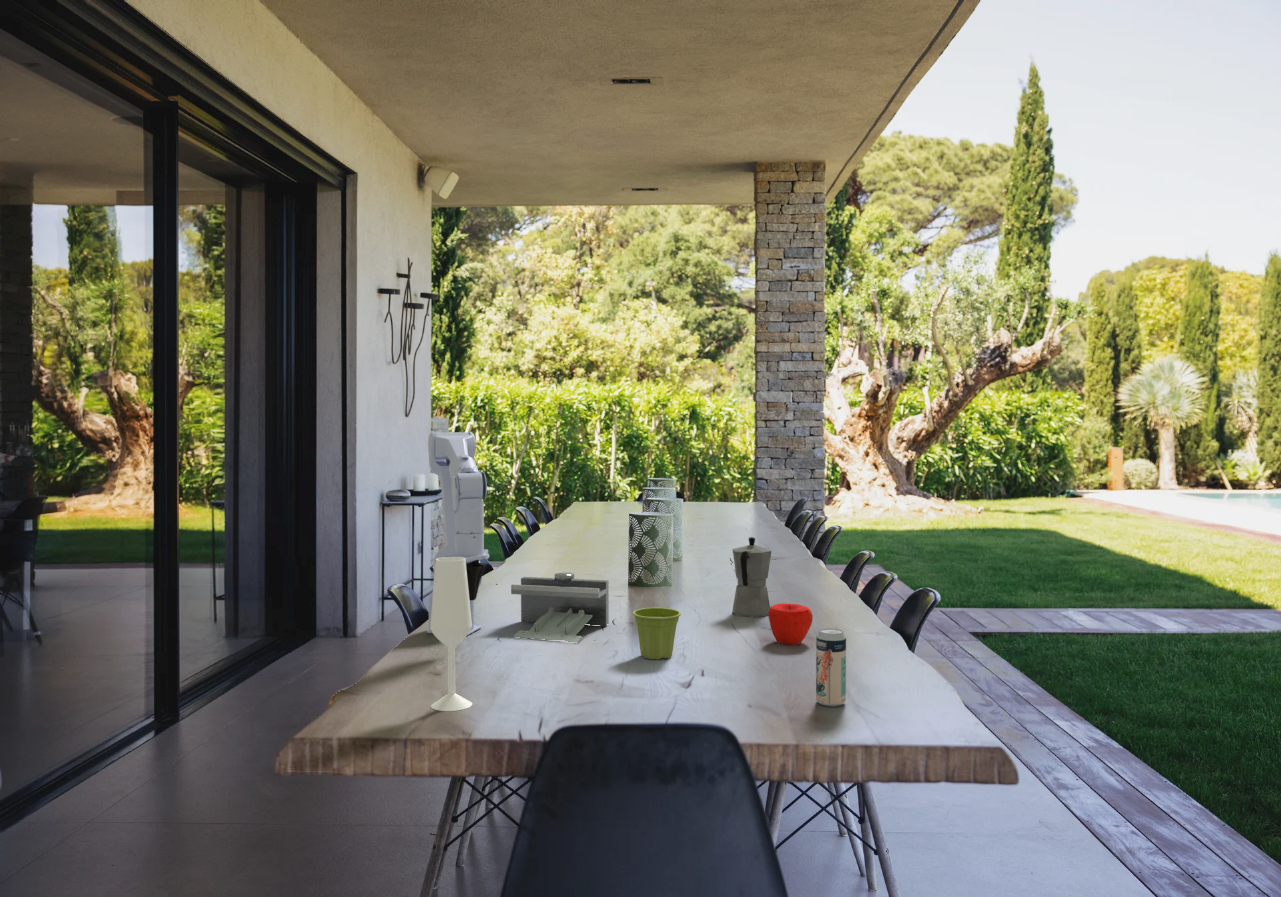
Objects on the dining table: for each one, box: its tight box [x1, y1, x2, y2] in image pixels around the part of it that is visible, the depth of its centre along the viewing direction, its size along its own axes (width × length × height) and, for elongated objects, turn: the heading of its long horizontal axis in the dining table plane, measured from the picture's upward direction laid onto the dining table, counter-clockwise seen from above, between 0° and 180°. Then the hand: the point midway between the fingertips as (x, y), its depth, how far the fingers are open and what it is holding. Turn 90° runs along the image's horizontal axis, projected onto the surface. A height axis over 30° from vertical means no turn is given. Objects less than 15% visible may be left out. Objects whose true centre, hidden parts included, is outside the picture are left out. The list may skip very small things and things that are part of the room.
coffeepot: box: [732, 536, 772, 618], centre depth 239 cm, size 15×9×18 cm, turn 160°
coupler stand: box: [510, 572, 610, 627], centre depth 226 cm, size 20×9×11 cm, turn 76°
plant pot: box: [632, 607, 682, 660], centre depth 199 cm, size 9×9×9 cm
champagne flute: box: [430, 557, 473, 712], centre depth 166 cm, size 7×7×24 cm
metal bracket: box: [513, 607, 592, 643], centre depth 218 cm, size 14×6×15 cm
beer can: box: [815, 628, 847, 708], centre depth 167 cm, size 5×5×12 cm
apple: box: [767, 602, 814, 646], centre depth 210 cm, size 9×9×8 cm
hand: (469, 599), depth 205 cm, fingers closed
